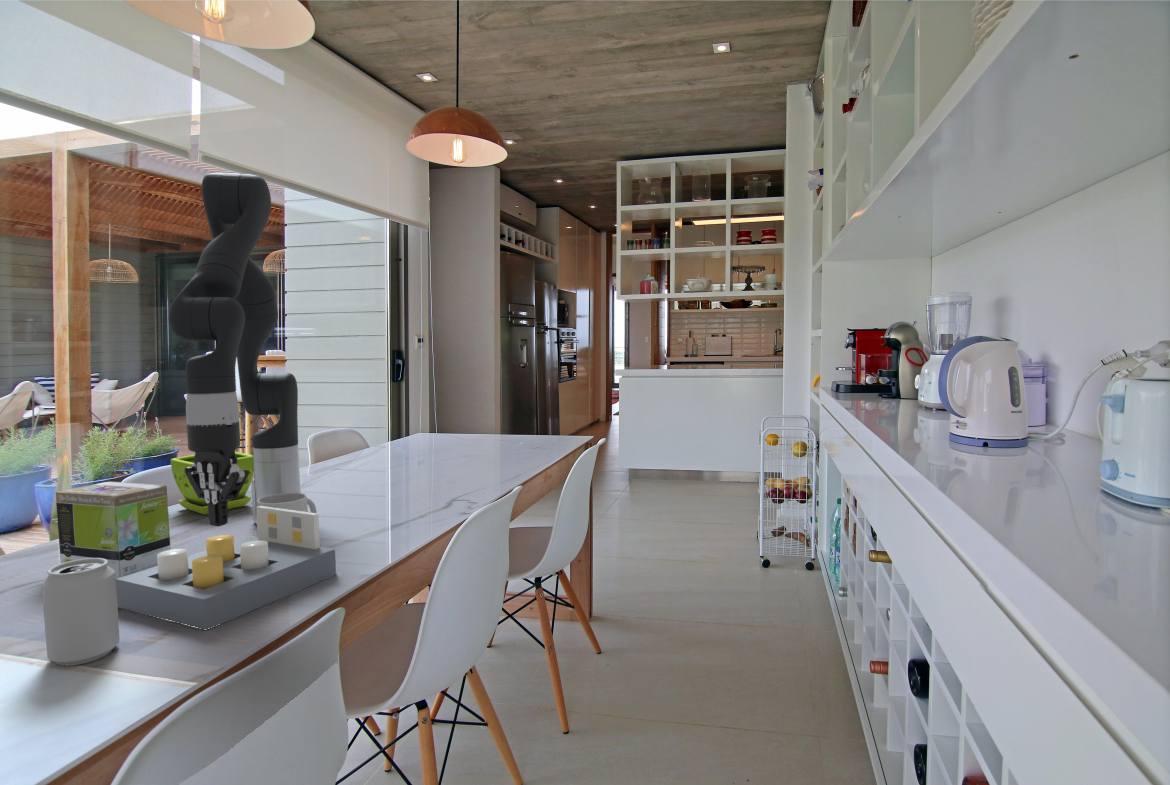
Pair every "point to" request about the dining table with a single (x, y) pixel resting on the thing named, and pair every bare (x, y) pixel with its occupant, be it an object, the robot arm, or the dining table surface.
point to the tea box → (114, 524)
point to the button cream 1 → (172, 564)
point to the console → (237, 575)
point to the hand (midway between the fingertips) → (218, 524)
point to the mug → (288, 502)
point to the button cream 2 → (254, 555)
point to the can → (80, 611)
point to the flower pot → (190, 495)
